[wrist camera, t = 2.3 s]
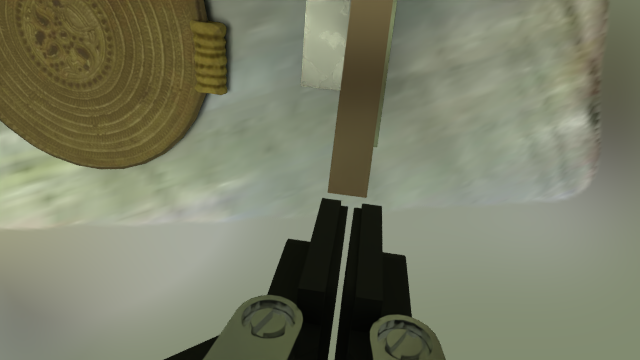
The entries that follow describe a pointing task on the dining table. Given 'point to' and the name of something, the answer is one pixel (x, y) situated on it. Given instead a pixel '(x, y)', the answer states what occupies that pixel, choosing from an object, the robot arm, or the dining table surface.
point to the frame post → (324, 43)
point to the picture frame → (361, 95)
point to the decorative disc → (107, 75)
